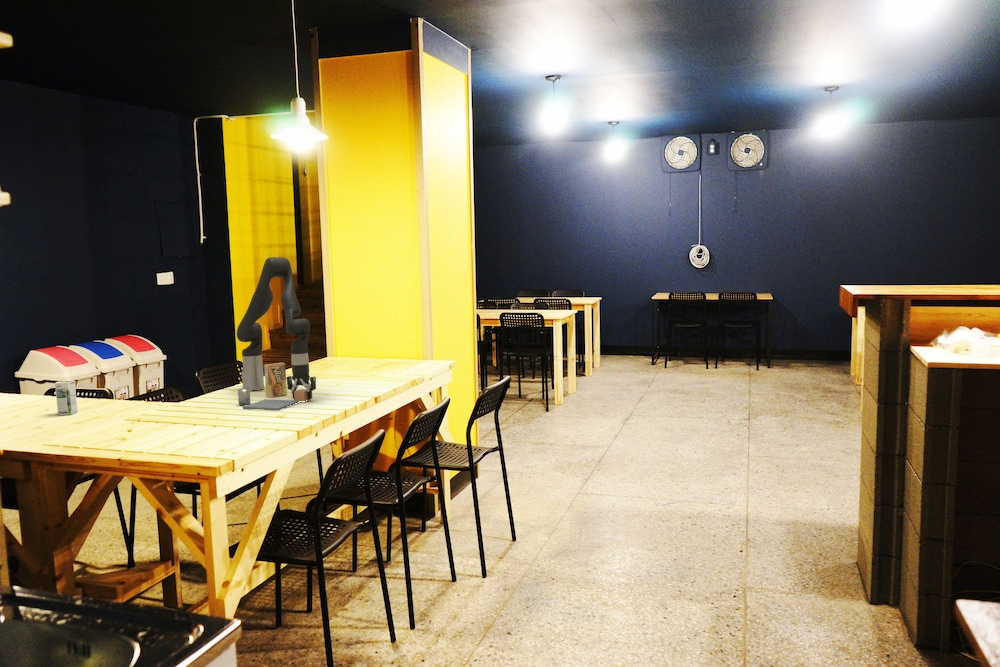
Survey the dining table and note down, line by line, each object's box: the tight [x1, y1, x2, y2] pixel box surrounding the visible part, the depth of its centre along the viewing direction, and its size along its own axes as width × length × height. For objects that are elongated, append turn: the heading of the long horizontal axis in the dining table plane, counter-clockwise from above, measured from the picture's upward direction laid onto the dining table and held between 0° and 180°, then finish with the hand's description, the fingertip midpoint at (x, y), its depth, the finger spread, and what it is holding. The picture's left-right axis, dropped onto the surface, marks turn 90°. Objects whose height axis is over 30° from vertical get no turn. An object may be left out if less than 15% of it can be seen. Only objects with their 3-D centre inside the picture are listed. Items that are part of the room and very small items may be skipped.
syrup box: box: [54, 380, 78, 416], centre depth 326 cm, size 6×6×14 cm
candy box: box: [263, 362, 288, 398], centre depth 352 cm, size 9×4×15 cm, turn 129°
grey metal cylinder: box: [237, 387, 252, 407], centre depth 334 cm, size 5×5×7 cm
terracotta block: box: [293, 388, 308, 401], centre depth 339 cm, size 5×5×5 cm
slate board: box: [242, 398, 300, 411], centre depth 331 cm, size 18×16×1 cm
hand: (302, 399), depth 339 cm, fingers open, 7 cm apart
